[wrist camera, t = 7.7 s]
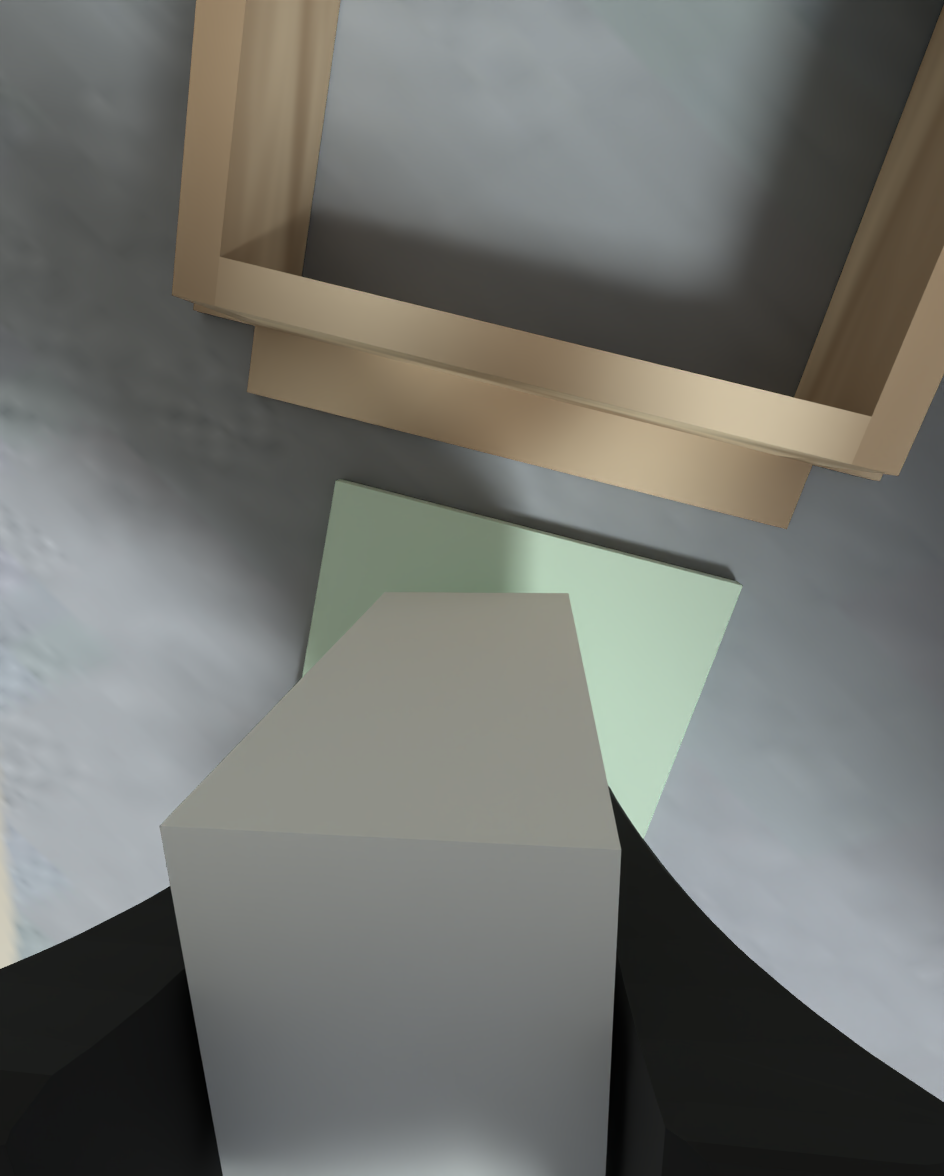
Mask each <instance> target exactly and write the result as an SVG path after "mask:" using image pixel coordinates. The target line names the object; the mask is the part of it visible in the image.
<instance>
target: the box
mask: <svg viewBox="0 0 944 1176" xmlns="http://www.w3.org/2000/svg"><path fill="white" fill-rule="evenodd" d="M160 832H161V837H162V843H163V848H164V854H165V859H166V865H167V870H168V876H169V881H170V887H171V892H172V898H173V903H174V909H175V914H176V920H177V925H178V931H179V936H180V942H181V947H182V953H183V958H184V964H185V970H186V975H187V981H188V986H189V992H190V997H191V1003H192V1008H193V1014H194V1019H195V1025H196V1030H197V1036H198V1041H199V1047H200V1052H201V1058H202V1063H203V1069H204V1074H205V1080H206V1085H207V1091H208V1096H209V1102H210V1107H211V1113H212V1118H213V1124H214V1130H215V1135H216V1141H217V1146H218V1152H219V1157H220V1163H221V1168H222V1174H223V1176H605V1173H606V1153H607V1132H608V1111H609V1091H610V1070H611V1050H612V1029H613V1009H614V988H615V967H616V947H617V926H618V906H619V885H620V865H621V846H620V842H619V837H618V832H617V827H616V822H615V817H614V812H613V808H612V803H611V798H610V793H609V788H608V783H607V778H606V773H605V769H604V764H603V759H602V754H601V749H600V744H599V739H598V735H597V730H596V725H595V720H594V715H593V710H592V705H591V700H590V696H589V691H588V686H587V681H586V676H585V671H584V666H583V662H582V657H581V652H580V647H579V642H578V637H577V632H576V627H575V623H574V618H573V613H572V608H571V603H570V598H569V593H449V592H384V593H383V594H382V596H381V597H380V598H379V599H378V600H377V601H376V602H375V603H374V604H373V605H372V606H371V607H370V608H369V609H368V610H367V611H366V612H365V613H364V614H363V615H362V616H361V617H360V618H359V619H358V620H357V621H356V622H355V624H354V625H353V626H352V627H351V628H350V629H349V630H348V631H347V632H346V633H345V634H344V635H343V636H342V637H341V638H340V639H339V640H338V641H337V642H336V643H335V644H334V645H333V646H332V647H331V648H330V649H329V651H328V652H327V653H326V654H325V655H324V656H323V657H322V658H321V659H320V660H319V661H318V662H317V663H316V664H315V665H314V666H313V667H312V668H311V669H310V670H309V671H308V672H307V673H306V674H305V675H304V676H303V678H302V679H301V680H300V681H299V682H298V683H297V684H296V685H295V686H294V687H293V688H292V689H291V690H290V691H289V692H288V693H287V694H286V695H285V696H284V697H283V698H282V699H281V700H280V701H279V702H278V703H277V705H276V706H275V707H274V708H273V709H272V710H271V711H270V712H269V713H268V714H267V715H266V716H265V717H264V718H263V719H262V720H261V721H260V722H259V723H258V724H257V725H256V726H255V727H254V728H253V729H252V730H251V731H250V733H249V734H248V735H247V736H246V737H245V738H244V739H243V740H242V741H241V742H240V743H239V744H238V745H237V746H236V747H235V748H234V749H233V750H232V751H231V752H230V753H229V754H228V755H227V756H226V757H225V758H224V760H223V761H222V762H221V763H220V764H219V765H218V766H217V767H216V768H215V769H214V770H213V771H212V772H211V773H210V774H209V775H208V776H207V777H206V778H205V779H204V780H203V781H202V782H201V783H200V784H199V785H198V787H197V788H196V789H195V790H194V791H193V792H192V793H191V794H190V795H189V796H188V797H187V798H186V799H185V800H184V801H183V802H182V803H181V804H180V805H179V806H178V807H177V808H176V809H175V810H174V811H173V812H172V814H171V815H170V816H169V817H168V818H167V819H166V820H165V821H164V822H163V823H162V824H161V825H160Z"/></svg>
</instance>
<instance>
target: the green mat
mask: <svg viewBox="0 0 944 1176" xmlns="http://www.w3.org/2000/svg"><path fill="white" fill-rule="evenodd" d="M742 587H743V585H741V584H740V583H739V582H737V581H734V580H730V579H726V578H722V577H718V576H714V575H710V574H707V573H703V572H699V571H695V570H691V569H687V568H683V567H679V566H676V565H672V564H668V563H664V562H660V561H656V560H652V559H648V558H645V557H641V556H637V555H633V554H629V553H625V552H621V551H617V550H614V549H610V548H606V547H602V546H598V545H594V544H590V543H587V542H583V541H579V540H575V539H571V538H567V537H563V536H559V535H556V534H552V533H548V532H544V531H540V530H536V529H532V528H528V527H525V526H521V525H517V524H513V523H509V522H505V521H501V520H497V519H494V518H490V517H486V516H482V515H478V514H474V513H470V512H467V511H463V510H459V509H455V508H451V507H447V506H443V505H439V504H436V503H432V502H428V501H424V500H420V499H416V498H412V497H408V496H405V495H401V494H397V493H393V492H389V491H385V490H381V489H377V488H374V487H370V486H366V485H362V484H358V483H354V482H350V481H346V480H343V479H339V480H336V481H335V487H334V493H333V499H332V505H331V511H330V516H329V522H328V528H327V534H326V540H325V546H324V552H323V557H322V563H321V569H320V575H319V581H318V587H317V592H316V598H315V604H314V610H313V616H312V622H311V627H310V633H309V639H308V645H307V651H306V657H305V662H304V668H303V674H302V678H303V676H304V675H305V674H306V673H307V672H308V671H309V670H310V669H311V668H312V667H313V666H314V665H315V664H316V663H317V662H318V661H319V660H320V659H321V658H322V657H323V656H324V655H325V654H326V653H327V652H328V651H329V649H330V648H331V647H332V646H333V645H334V644H335V643H336V642H337V641H338V640H339V639H340V638H341V637H342V636H343V635H344V634H345V633H346V632H347V631H348V630H349V629H350V628H351V627H352V626H353V625H354V624H355V622H356V621H357V620H358V619H359V618H360V617H361V616H362V615H363V614H364V613H365V612H366V611H367V610H368V609H369V608H370V607H371V606H372V605H373V604H374V603H375V602H376V601H377V600H378V599H379V598H380V597H381V596H382V594H383V593H384V592H449V593H569V598H570V603H571V608H572V613H573V618H574V623H575V627H576V632H577V637H578V642H579V647H580V652H581V657H582V662H583V666H584V671H585V676H586V681H587V686H588V691H589V696H590V700H591V705H592V710H593V715H594V720H595V725H596V730H597V735H598V739H599V744H600V749H601V754H602V759H603V764H604V769H605V773H606V778H607V783H608V786H609V787H610V788H611V790H612V792H613V794H614V795H615V797H616V799H617V801H618V802H619V804H620V805H621V807H622V809H623V810H624V812H625V813H626V815H627V816H628V818H629V819H630V821H631V822H632V824H633V825H634V827H635V828H636V830H637V831H638V832H639V834H640V835H641V837H642V838H643V839H644V837H645V834H646V832H647V829H648V826H649V824H650V821H651V819H652V816H653V814H654V811H655V809H656V806H657V803H658V801H659V798H660V796H661V793H662V791H663V788H664V786H665V783H666V781H667V778H668V775H669V773H670V770H671V768H672V765H673V763H674V760H675V758H676V755H677V752H678V750H679V747H680V745H681V742H682V740H683V737H684V735H685V732H686V729H687V727H688V724H689V722H690V719H691V717H692V714H693V712H694V709H695V707H696V704H697V701H698V699H699V696H700V694H701V691H702V689H703V686H704V684H705V681H706V678H707V676H708V673H709V671H710V668H711V666H712V663H713V661H714V658H715V655H716V653H717V650H718V648H719V645H720V643H721V640H722V638H723V635H724V633H725V630H726V627H727V625H728V622H729V620H730V617H731V615H732V612H733V610H734V607H735V604H736V602H737V599H738V597H739V594H740V592H741V589H742Z"/></svg>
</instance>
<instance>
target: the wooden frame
mask: <svg viewBox="0 0 944 1176" xmlns="http://www.w3.org/2000/svg"><path fill="white" fill-rule="evenodd" d="M339 7H340V0H196V9H195V21H194V33H193V45H192V57H191V69H190V81H189V93H188V106H187V118H186V130H185V142H184V154H183V166H182V178H181V190H180V202H179V214H178V226H177V238H176V250H175V262H174V274H173V286H172V295H173V296H176V297H178V298H181V299H184V300H187V301H189V302H192V303H194V307H193V310H195V311H198V312H201V313H205V314H209V315H213V316H217V317H221V318H225V319H229V320H233V321H237V322H241V323H245V324H249V325H253V326H255V330H254V338H253V346H252V354H251V362H250V371H249V379H248V387H247V392H249V393H253V394H257V395H261V396H264V397H268V398H272V399H276V400H280V401H284V402H288V403H292V404H296V405H300V406H304V407H308V408H312V409H316V410H320V411H323V412H327V413H331V414H335V415H339V416H343V417H347V418H351V419H355V420H359V421H363V422H367V423H371V424H375V425H379V426H382V427H386V428H390V429H394V430H398V431H402V432H406V433H410V434H414V435H418V436H422V437H426V438H430V439H434V440H438V441H442V442H445V443H449V444H453V445H457V446H461V447H465V448H469V449H473V450H477V451H481V452H485V453H489V454H493V455H497V456H501V457H504V458H508V459H512V460H516V461H520V462H524V463H528V464H532V465H536V466H540V467H544V468H548V469H552V470H556V471H560V472H564V473H567V474H571V475H575V476H579V477H583V478H587V479H591V480H595V481H599V482H603V483H607V484H611V485H615V486H619V487H623V488H626V489H630V490H634V491H638V492H642V493H646V494H650V495H654V496H658V497H662V498H666V499H670V500H674V501H678V502H682V503H685V504H689V505H693V506H697V507H701V508H705V509H709V510H713V511H717V512H721V513H725V514H729V515H733V516H737V517H741V518H745V519H748V520H752V521H756V522H760V523H764V524H768V525H772V526H776V527H780V528H784V529H787V527H788V525H789V522H790V520H791V517H792V515H793V512H794V510H795V507H796V505H797V502H798V500H799V497H800V495H801V492H802V490H803V487H804V485H805V482H806V480H807V478H808V475H809V473H810V470H811V468H812V465H814V466H818V467H822V468H826V469H830V470H834V471H838V472H842V473H846V474H850V475H854V476H858V477H862V478H866V479H870V480H876V481H880V480H881V477H882V475H883V474H887V475H895V476H899V473H900V471H901V469H902V467H903V464H904V462H905V460H906V458H907V455H908V453H909V451H910V449H911V447H912V444H913V442H914V440H915V438H916V435H917V433H918V431H919V429H920V426H921V424H922V422H923V420H924V417H925V415H926V413H927V411H928V409H929V406H930V404H931V402H932V400H933V397H934V395H935V393H936V391H937V388H938V386H939V384H940V382H941V379H942V377H943V375H944V5H943V8H942V10H941V13H940V16H939V18H938V21H937V23H936V26H935V29H934V31H933V34H932V37H931V39H930V42H929V44H928V47H927V50H926V52H925V55H924V58H923V60H922V63H921V65H920V68H919V71H918V73H917V76H916V79H915V81H914V84H913V86H912V89H911V92H910V94H909V97H908V100H907V102H906V105H905V107H904V110H903V113H902V115H901V118H900V121H899V123H898V126H897V128H896V131H895V134H894V136H893V139H892V142H891V144H890V147H889V149H888V152H887V155H886V157H885V160H884V163H883V165H882V168H881V170H880V173H879V176H878V178H877V181H876V184H875V186H874V189H873V191H872V194H871V197H870V199H869V202H868V205H867V207H866V210H865V212H864V215H863V218H862V220H861V223H860V226H859V228H858V231H857V233H856V236H855V239H854V241H853V244H852V246H851V249H850V252H849V254H848V257H847V260H846V262H845V265H844V267H843V270H842V273H841V275H840V278H839V281H838V283H837V286H836V288H835V291H834V294H833V296H832V299H831V302H830V304H829V307H828V309H827V312H826V315H825V317H824V320H823V323H822V325H821V328H820V330H819V333H818V336H817V338H816V341H815V344H814V346H813V349H812V351H811V354H810V357H809V359H808V362H807V365H806V367H805V370H804V372H803V375H802V378H801V380H800V383H799V386H798V388H797V391H796V393H795V396H794V397H790V396H785V395H781V394H777V393H773V392H769V391H765V390H761V389H757V388H753V387H749V386H745V385H741V384H737V383H733V382H728V381H724V380H720V379H716V378H712V377H708V376H704V375H700V374H696V373H692V372H688V371H684V370H680V369H676V368H671V367H667V366H663V365H659V364H655V363H651V362H647V361H643V360H639V359H635V358H631V357H627V356H623V355H618V354H614V353H610V352H606V351H602V350H598V349H594V348H590V347H586V346H582V345H578V344H574V343H570V342H566V341H561V340H557V339H553V338H549V337H545V336H541V335H537V334H533V333H529V332H525V331H521V330H517V329H513V328H509V327H504V326H500V325H496V324H492V323H488V322H484V321H480V320H476V319H472V318H468V317H464V316H460V315H456V314H451V313H447V312H443V311H439V310H435V309H431V308H427V307H423V306H419V305H415V304H411V303H407V302H403V301H399V300H394V299H390V298H386V297H382V296H378V295H374V294H370V293H366V292H362V291H358V290H354V289H350V288H346V287H342V286H337V285H333V284H329V283H325V282H321V281H317V280H313V279H309V278H305V277H302V271H303V264H304V257H305V249H306V242H307V235H308V228H309V221H310V214H311V207H312V200H313V192H314V185H315V178H316V171H317V164H318V157H319V150H320V143H321V136H322V128H323V121H324V114H325V107H326V100H327V93H328V86H329V79H330V71H331V64H332V57H333V50H334V43H335V36H336V29H337V22H338V14H339Z"/></svg>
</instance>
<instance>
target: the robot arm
mask: <svg viewBox="0 0 944 1176" xmlns="http://www.w3.org/2000/svg"><path fill="white" fill-rule="evenodd" d="M608 788H609V793H610V798H611V803H612V808H613V812H614V817H615V822H616V827H617V832H618V837H619V842H620V846H621V865H620V885H619V906H618V926H617V947H616V967H615V988H614V1009H613V1029H612V1050H611V1070H610V1091H609V1111H608V1132H607V1153H606V1173H605V1176H944V1102H942V1101H941V1100H939V1099H938V1098H936V1097H935V1096H933V1095H932V1094H930V1093H929V1092H927V1091H926V1090H924V1089H923V1088H921V1087H920V1086H918V1085H917V1084H915V1083H914V1082H912V1081H911V1080H909V1079H908V1078H906V1077H905V1076H903V1075H902V1074H900V1073H899V1072H897V1071H896V1070H894V1069H893V1068H891V1067H890V1066H888V1065H887V1064H885V1063H884V1062H882V1061H881V1060H879V1059H878V1058H876V1057H875V1056H873V1055H872V1054H870V1053H869V1052H867V1051H866V1050H865V1049H863V1048H862V1047H860V1046H859V1045H858V1044H856V1043H855V1042H854V1041H852V1040H851V1039H850V1038H848V1037H847V1036H846V1035H844V1034H843V1033H842V1032H840V1031H839V1030H838V1029H836V1028H835V1027H834V1026H832V1025H831V1024H830V1023H828V1022H827V1021H826V1020H824V1019H823V1018H822V1017H820V1016H819V1015H818V1014H816V1013H815V1012H814V1011H812V1010H811V1009H810V1008H809V1007H807V1006H806V1005H805V1004H804V1003H802V1002H801V1001H800V1000H799V999H797V998H796V997H795V996H794V995H792V994H791V993H790V992H789V991H788V990H787V989H785V988H784V987H783V986H782V985H781V984H779V983H778V982H777V981H776V980H775V979H774V978H772V977H771V976H770V975H769V974H768V973H767V972H765V971H764V970H763V969H762V968H761V967H760V966H758V965H757V964H756V963H755V962H754V961H753V960H751V959H750V958H749V957H748V956H747V955H746V954H745V953H744V952H743V951H742V950H740V949H739V948H738V947H737V946H736V945H735V944H734V943H733V942H732V941H731V940H730V939H729V938H728V937H727V936H726V935H725V934H724V933H723V932H722V931H721V930H720V929H719V928H718V927H717V926H716V925H715V924H714V923H713V922H712V921H711V920H710V919H709V918H708V917H707V916H706V915H705V913H704V912H703V911H702V910H701V909H700V908H699V907H698V906H697V905H696V904H695V902H694V901H693V900H692V899H691V898H690V897H689V896H688V895H687V893H686V892H685V891H684V890H683V889H682V888H681V886H680V885H679V884H678V883H677V882H676V881H675V879H674V878H673V877H672V876H671V875H670V873H669V872H668V871H667V870H666V868H665V867H664V866H663V865H662V863H661V862H660V861H659V859H658V858H657V857H656V855H655V854H654V853H653V851H652V850H651V849H650V847H649V846H648V845H647V843H646V842H645V841H644V839H643V838H642V837H641V835H640V834H639V832H638V831H637V830H636V828H635V827H634V825H633V824H632V822H631V821H630V819H629V818H628V816H627V815H626V813H625V812H624V810H623V809H622V807H621V805H620V804H619V802H618V801H617V799H616V797H615V795H614V794H613V792H612V790H611V788H610V787H609V786H608ZM0 1176H223V1174H222V1168H221V1163H220V1157H219V1152H218V1146H217V1141H216V1135H215V1130H214V1124H213V1118H212V1113H211V1107H210V1102H209V1096H208V1091H207V1085H206V1080H205V1074H204V1069H203V1063H202V1058H201V1052H200V1047H199V1041H198V1036H197V1030H196V1025H195V1019H194V1014H193V1008H192V1003H191V997H190V992H189V986H188V981H187V975H186V970H185V964H184V958H183V953H182V947H181V942H180V936H179V931H178V925H177V920H176V914H175V909H174V903H173V898H172V892H171V887H170V886H169V887H168V888H166V889H164V890H163V891H161V892H159V893H158V894H156V895H154V896H152V897H151V898H149V899H147V900H145V901H143V902H142V903H140V904H138V905H136V906H134V907H132V908H130V909H128V910H126V911H124V912H122V913H120V914H118V915H116V916H114V917H112V918H110V919H109V920H107V921H105V922H103V923H101V924H99V925H97V926H95V927H93V928H91V929H89V930H87V931H85V932H83V933H81V934H79V935H77V936H75V937H73V938H70V939H68V940H66V941H64V942H62V943H59V944H57V945H55V946H53V947H51V948H48V949H46V950H44V951H42V952H39V953H37V954H35V955H33V956H30V957H28V958H25V959H23V960H21V961H18V962H16V963H13V964H11V965H9V966H7V967H4V968H2V969H0Z"/></svg>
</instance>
